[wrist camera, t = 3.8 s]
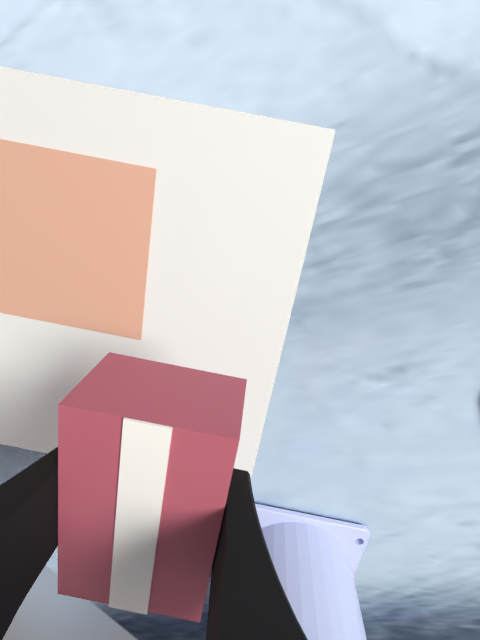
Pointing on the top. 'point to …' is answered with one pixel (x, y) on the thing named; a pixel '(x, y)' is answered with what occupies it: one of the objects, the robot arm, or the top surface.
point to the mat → (145, 242)
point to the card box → (145, 483)
